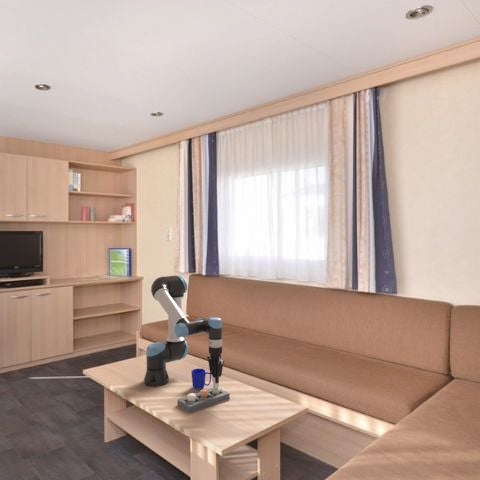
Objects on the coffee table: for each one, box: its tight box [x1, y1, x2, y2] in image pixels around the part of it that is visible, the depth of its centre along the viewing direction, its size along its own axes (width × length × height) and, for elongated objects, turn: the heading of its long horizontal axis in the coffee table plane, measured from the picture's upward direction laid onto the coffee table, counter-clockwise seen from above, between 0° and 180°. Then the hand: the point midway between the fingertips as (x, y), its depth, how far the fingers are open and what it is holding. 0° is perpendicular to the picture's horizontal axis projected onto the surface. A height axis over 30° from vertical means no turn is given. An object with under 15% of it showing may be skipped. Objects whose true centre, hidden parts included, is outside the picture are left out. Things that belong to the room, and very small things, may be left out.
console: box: [177, 388, 231, 413], centre depth 212 cm, size 12×26×3 cm, turn 130°
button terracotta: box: [199, 388, 209, 398], centre depth 212 cm, size 4×4×3 cm
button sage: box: [211, 387, 221, 395], centre depth 217 cm, size 4×4×3 cm
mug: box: [190, 368, 212, 390], centre depth 231 cm, size 8×12×10 cm
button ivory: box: [186, 392, 196, 402], centre depth 207 cm, size 4×4×3 cm
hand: (215, 388), depth 217 cm, fingers closed
